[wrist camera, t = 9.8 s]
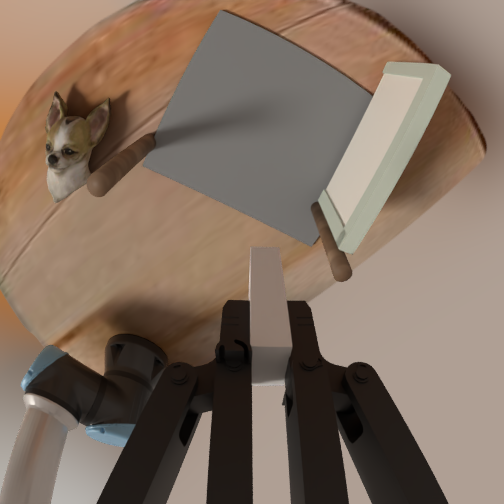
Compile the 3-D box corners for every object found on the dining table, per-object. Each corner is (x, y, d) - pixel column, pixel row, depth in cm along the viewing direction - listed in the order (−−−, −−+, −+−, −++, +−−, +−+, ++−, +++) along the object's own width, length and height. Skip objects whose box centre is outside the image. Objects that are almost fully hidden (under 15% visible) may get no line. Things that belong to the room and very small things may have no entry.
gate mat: (310, 244, 47) (311, 246, 47) (143, 164, 40) (142, 166, 40) (400, 119, 36) (402, 119, 35) (220, 10, 28) (220, 9, 28)
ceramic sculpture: (21, 200, 33) (28, 95, 26) (51, 179, 40) (62, 89, 33) (80, 216, 35) (94, 102, 28) (105, 193, 42) (122, 97, 35)
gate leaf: (328, 204, 42) (352, 254, 31) (317, 200, 41) (338, 249, 31) (398, 68, 30) (451, 74, 20) (387, 61, 30) (438, 64, 20)
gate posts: (318, 215, 44) (344, 285, 31) (139, 147, 38) (84, 192, 25) (326, 202, 43) (356, 269, 30) (143, 131, 37) (88, 170, 24)
